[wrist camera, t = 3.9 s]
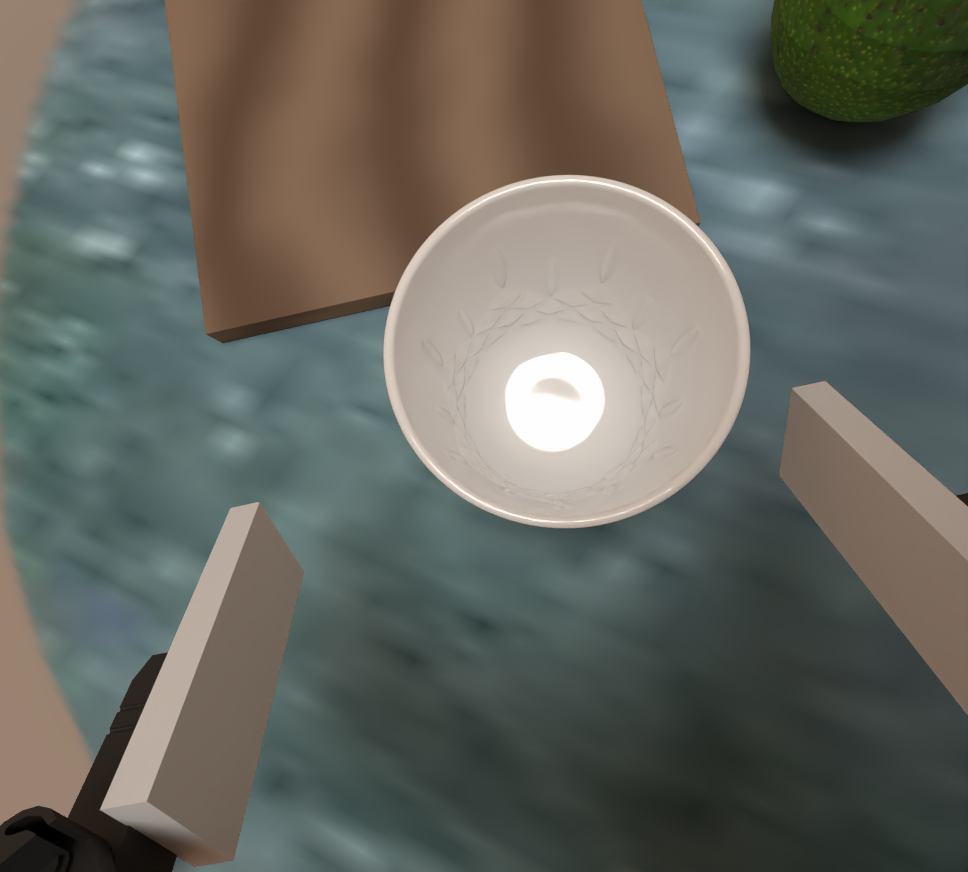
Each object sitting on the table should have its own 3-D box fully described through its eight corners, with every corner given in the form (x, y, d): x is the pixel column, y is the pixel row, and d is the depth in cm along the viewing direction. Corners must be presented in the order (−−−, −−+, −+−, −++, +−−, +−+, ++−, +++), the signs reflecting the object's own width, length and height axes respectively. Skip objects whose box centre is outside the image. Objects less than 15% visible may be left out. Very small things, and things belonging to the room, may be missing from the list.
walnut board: (604, -95, 24) (607, -126, 23) (691, 237, 22) (700, 222, 21) (181, 19, 26) (164, -4, 24) (222, 342, 23) (205, 334, 22)
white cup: (413, 406, 22) (314, 327, 12) (561, 282, 22) (580, 106, 12) (538, 559, 21) (539, 608, 11) (695, 428, 21) (834, 360, 11)
